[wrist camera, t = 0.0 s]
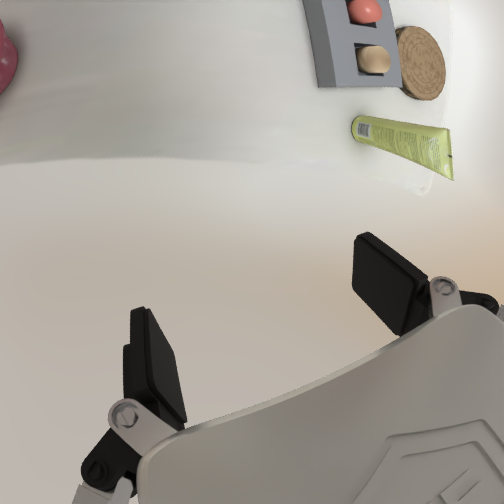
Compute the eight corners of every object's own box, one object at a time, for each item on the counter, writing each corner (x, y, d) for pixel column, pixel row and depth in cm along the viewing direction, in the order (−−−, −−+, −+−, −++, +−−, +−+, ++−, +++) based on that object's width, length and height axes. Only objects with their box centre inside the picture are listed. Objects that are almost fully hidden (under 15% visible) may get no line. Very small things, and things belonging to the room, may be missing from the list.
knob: (349, 46, 32) (367, 44, 29) (370, 48, 33) (388, 47, 30) (352, 72, 35) (371, 72, 31) (373, 73, 36) (392, 73, 32)
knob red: (339, 0, 28) (357, -6, 24) (361, 4, 29) (379, -1, 25) (344, 23, 30) (362, 19, 27) (366, 26, 31) (384, 23, 27)
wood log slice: (386, 93, 41) (397, 94, 39) (383, 17, 33) (394, 15, 31) (435, 104, 45) (445, 106, 43) (433, 39, 37) (443, 39, 35)
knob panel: (290, -48, 24) (304, -59, 20) (359, -35, 26) (376, -42, 22) (318, 87, 38) (336, 87, 34) (383, 86, 40) (402, 87, 36)
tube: (377, 124, 44) (466, 149, 28) (368, 148, 46) (454, 181, 30) (356, 109, 41) (450, 129, 25) (346, 135, 43) (437, 164, 27)
